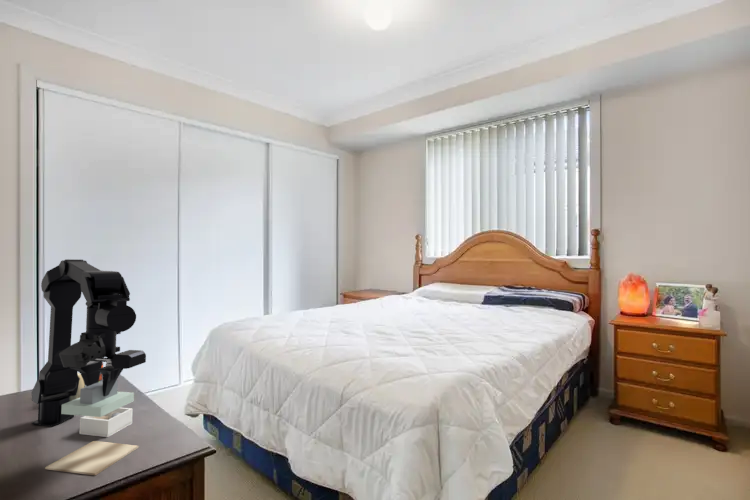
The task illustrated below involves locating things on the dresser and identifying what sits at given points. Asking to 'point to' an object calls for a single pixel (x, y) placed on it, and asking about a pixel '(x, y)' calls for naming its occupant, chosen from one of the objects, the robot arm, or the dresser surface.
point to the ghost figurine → (80, 386)
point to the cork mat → (92, 458)
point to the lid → (97, 401)
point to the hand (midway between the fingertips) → (99, 395)
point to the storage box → (106, 423)
